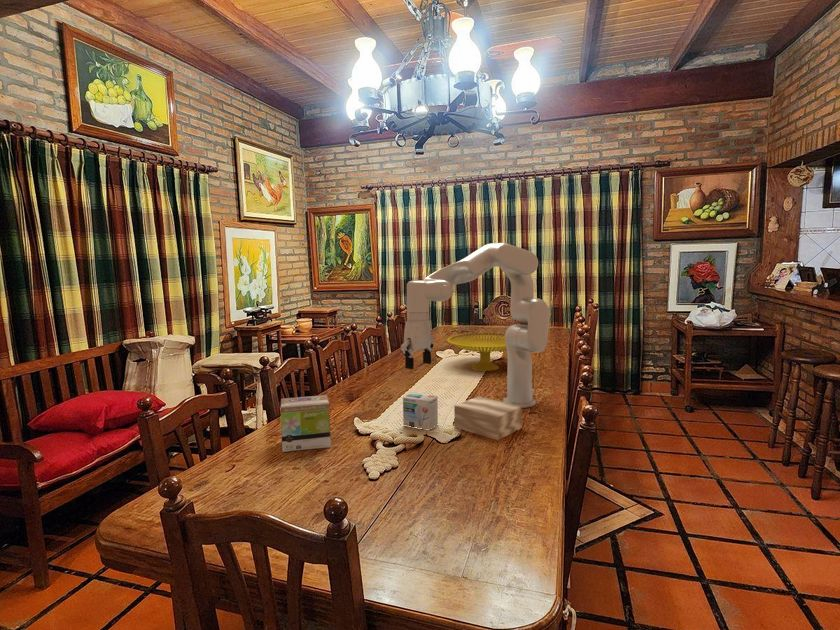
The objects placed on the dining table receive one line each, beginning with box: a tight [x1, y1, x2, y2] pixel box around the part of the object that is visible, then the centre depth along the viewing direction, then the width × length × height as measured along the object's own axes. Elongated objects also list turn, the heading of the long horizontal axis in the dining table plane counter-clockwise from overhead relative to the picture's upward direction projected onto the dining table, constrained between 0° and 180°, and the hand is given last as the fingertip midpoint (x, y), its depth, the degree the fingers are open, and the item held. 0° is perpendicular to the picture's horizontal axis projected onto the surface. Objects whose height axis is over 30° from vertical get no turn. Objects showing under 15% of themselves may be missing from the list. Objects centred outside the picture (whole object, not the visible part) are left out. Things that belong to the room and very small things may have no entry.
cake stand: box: [445, 332, 507, 372], centre depth 246 cm, size 40×40×15 cm
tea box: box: [280, 394, 332, 453], centre depth 151 cm, size 15×10×15 cm
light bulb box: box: [402, 392, 439, 429], centre depth 166 cm, size 11×7×11 cm, turn 62°
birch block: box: [453, 396, 522, 441], centre depth 163 cm, size 14×18×8 cm
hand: (418, 366), depth 164 cm, fingers open, 9 cm apart
